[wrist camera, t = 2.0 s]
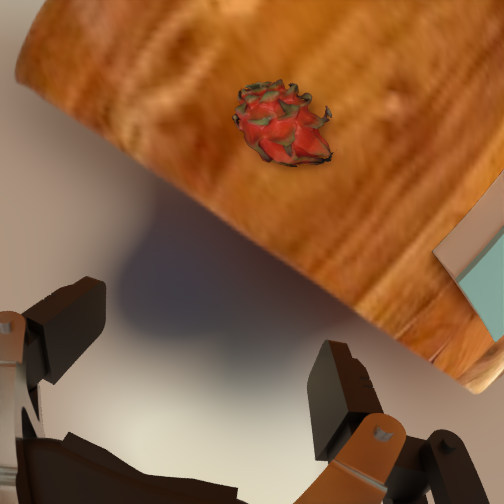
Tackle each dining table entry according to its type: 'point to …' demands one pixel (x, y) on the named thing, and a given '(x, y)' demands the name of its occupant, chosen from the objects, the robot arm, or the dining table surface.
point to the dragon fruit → (281, 124)
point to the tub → (473, 231)
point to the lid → (487, 285)
